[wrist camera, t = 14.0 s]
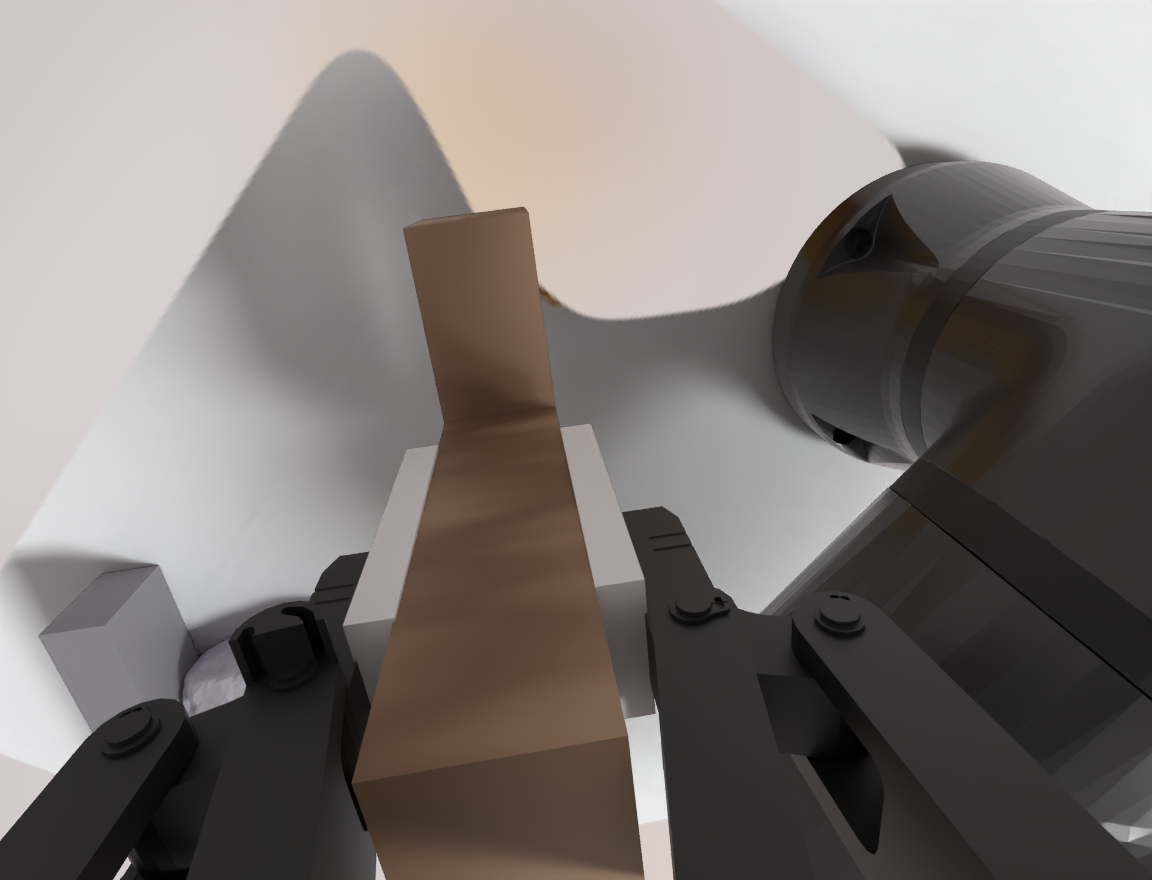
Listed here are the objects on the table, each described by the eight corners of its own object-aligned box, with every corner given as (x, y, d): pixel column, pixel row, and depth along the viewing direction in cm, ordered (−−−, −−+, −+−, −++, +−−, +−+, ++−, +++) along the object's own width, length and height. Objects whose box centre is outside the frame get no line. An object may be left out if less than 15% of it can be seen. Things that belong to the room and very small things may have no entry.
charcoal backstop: (158, 565, 34) (104, 625, 29) (240, 751, 40) (206, 827, 35) (101, 573, 34) (38, 635, 29) (192, 759, 39) (150, 836, 35)
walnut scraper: (524, 206, 19) (573, 268, 5) (575, 571, 24) (671, 1109, 10) (423, 219, 19) (185, 320, 5) (496, 584, 24) (482, 1147, 10)
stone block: (333, 564, 38) (179, 656, 37) (328, 609, 33) (153, 715, 32) (437, 691, 42) (304, 774, 42) (445, 744, 38) (297, 839, 37)
